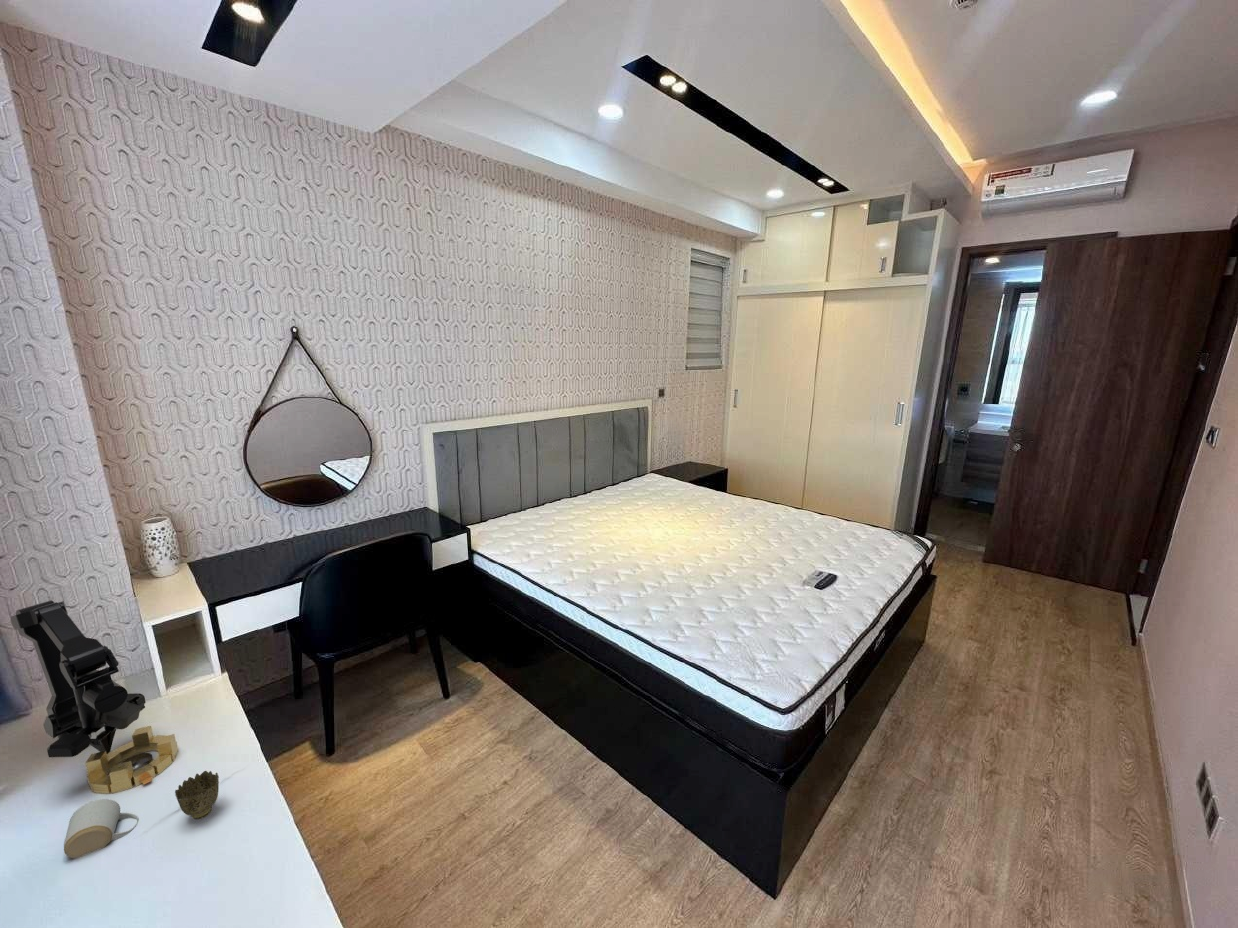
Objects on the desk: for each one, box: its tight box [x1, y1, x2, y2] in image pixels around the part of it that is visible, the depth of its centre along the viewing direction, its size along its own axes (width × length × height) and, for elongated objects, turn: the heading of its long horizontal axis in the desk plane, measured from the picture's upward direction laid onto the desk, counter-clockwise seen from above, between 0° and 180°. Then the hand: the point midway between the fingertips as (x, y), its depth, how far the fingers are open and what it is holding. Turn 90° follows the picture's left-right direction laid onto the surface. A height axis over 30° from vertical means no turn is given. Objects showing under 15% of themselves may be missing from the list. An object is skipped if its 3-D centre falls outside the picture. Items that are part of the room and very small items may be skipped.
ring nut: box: [84, 725, 179, 795], centre depth 124 cm, size 16×16×5 cm
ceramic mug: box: [63, 798, 140, 860], centre depth 107 cm, size 11×8×8 cm
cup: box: [174, 770, 220, 820], centre depth 113 cm, size 8×7×8 cm
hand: (106, 753), depth 124 cm, fingers closed
